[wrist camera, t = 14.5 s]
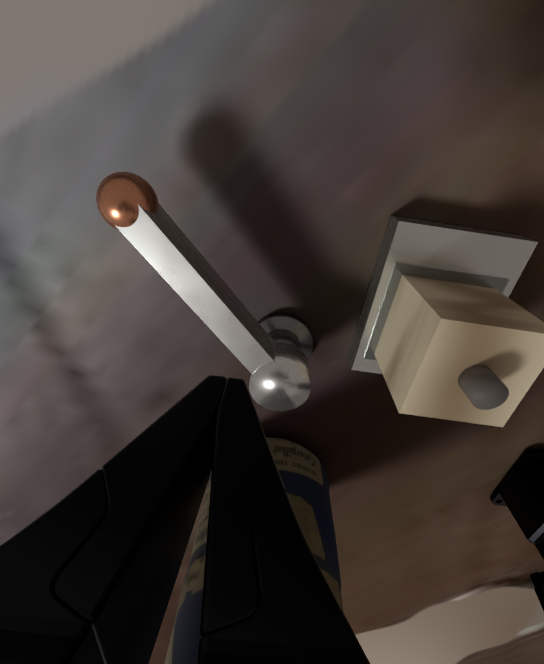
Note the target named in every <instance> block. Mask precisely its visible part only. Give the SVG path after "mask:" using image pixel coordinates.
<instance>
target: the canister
mask: <svg viewBox="0 0 544 664" xmlns="http://www.w3.org/2000/svg"><path fill="white" fill-rule="evenodd" d="M266 439H267V442H268V444H269V447H270V449H271V452H272V455H273V457H274V460H275V463H276V465H277V468H278V471H279V473H280V476H281V478H282V481H283V484H284V486H285V489H286V493H287V494H288V496H289V499H290V502H291V504H292V507H293V510H294V512H295V514H296V517H297V519H298V522H299V524H300V526H301V529H302V531H303V534H304V536H305V538H306V540H307V542H308V544H309V546H310V548H311V551H312V553H313V555H314V557H315V559H316V561H317V563H318V565H319V567H320V569H321V571H322V573H323V575H324V577H325V579H326V580H327V582H328V584H329V586H330V588H331V590H332V592H333V594H334V596H335V598H336V600H337V602H338V603H339V605H340V607H341V609H342V611H343V606H342V597H341V580H340V571H339V563H338V554H337V546H336V538H335V531H334V524H333V517H332V511H331V504H330V496H329V482H328V477H327V473H326V471H325V468H324V467H323V465H322V463H321V462H320V461H319V459H318V458H317V457H316V456H315V455H314V454H313V453H312V452H310V451H309V450H307V449H306V448H304V447H303V446H301V445H299V444H296V443H294V442H292V441H289V440H286V439H280V438H266ZM211 476H212V473H211ZM211 476H210V480H209V484H208V488H207V492H206V497H205V501H204V505H203V509H202V513H201V517H200V521H199V526H198V530H197V534H196V538H195V542H194V546H193V551H192V555H191V559H190V564H189V569H188V572H187V574H186V577H185V580H184V584H183V588H182V592H181V597H180V601H179V605H178V609H177V614H176V618H175V622H174V627H173V631H172V635H171V639H170V643H169V647H168V652H167V656H166V660H165V664H197V663H198V650H199V637H200V623H201V610H202V596H203V583H204V570H205V556H206V543H207V529H208V516H209V503H210V489H211Z"/></svg>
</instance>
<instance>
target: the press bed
mask: <svg viewBox="0 0 544 664" xmlns="http://www.w3.org/2000/svg"><path fill="white" fill-rule="evenodd" d="M537 244H538V242H537V241H534V240H531V239H529V238H526V237H524V236H521V235H517V234H510V233H503V232H497V231H490V230H484V229H477V228H471V227H464V226H457V225H451V224H444V223H438V222H431V221H425V220H418V219H411V218H405V217H398V216H392V215H390V219H389V222H388V225H387V228H386V232H385V235H384V238H383V242H382V245H381V248H380V252H379V255H378V258H377V261H376V265H375V268H374V271H373V275H372V278H371V281H370V284H369V288H368V291H367V294H366V298H365V301H364V304H363V308H362V311H361V314H360V317H359V321H358V324H357V327H356V331H355V334H354V337H353V341H352V344H351V347H350V350H349V354H348V359H349V363H350V366H351V370H356V371H364V372H371V373H378V374H382V371H381V369H380V366H379V364H378V362H377V359H376V357H375V354H374V353H375V350H376V348H377V345H378V342H379V339H380V336H381V333H382V331H383V328H384V325H385V322H386V319H387V317H388V314H389V311H390V308H391V305H392V302H393V300H394V297H395V294H396V291H397V288H398V285H399V283H400V280H401V277H402V275H407V276H414V277H421V278H427V279H434V280H441V281H447V282H454V283H461V284H467V285H474V286H481V287H487V288H494V289H496V290H498V291H499V292H501V293H502V294H504V295H505V296H506V297H509V295H510V294H511V292H512V290H513V288H514V286H515V284H516V282H517V281H518V279H519V277H520V275H521V273H522V271H523V269H524V268H525V266H526V264H527V262H528V260H529V258H530V257H531V255H532V253H533V251H534V249H535V247H536V245H537Z"/></svg>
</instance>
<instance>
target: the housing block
mask: <svg viewBox="0 0 544 664" xmlns="http://www.w3.org/2000/svg"><path fill="white" fill-rule="evenodd" d="M374 354H375V357H376V359H377V362H378V364H379V366H380V369H381V371H382V374H383V376H384V378H385V381H386V383H387V386H388V388H389V390H390V393H391V395H392V398H393V400H394V402H395V405H396V407H397V410H398V412H399V413H401V414H409V415H416V416H423V417H431V418H438V419H445V420H453V421H460V422H468V423H475V424H482V425H490V426H497V427H504V425H505V424H506V422H507V421H508V419H509V418H510V416H511V415H512V413H513V412H514V410H515V409H516V407H517V406H518V404H519V403H520V402H521V400H522V399H523V397H524V396H525V394H526V393H527V391H528V390H529V388H530V387H531V385H532V384H533V382H534V381H535V380H536V378H537V377H538V375H539V374H540V372H541V371H542V369H543V368H544V322H543V321H541V320H540V319H538V318H537V317H535V316H534V315H533V314H531V313H530V312H528V311H527V310H525V309H524V308H522V307H521V306H519V305H518V304H517V303H515V302H514V301H512V300H511V299H509V298H508V297H506V296H505V295H504V294H502V293H501V292H499V291H498V290H496V289H494V288H487V287H481V286H474V285H467V284H461V283H454V282H447V281H441V280H434V279H427V278H421V277H414V276H407V275H402V277H401V280H400V283H399V285H398V288H397V291H396V294H395V297H394V300H393V302H392V305H391V308H390V311H389V314H388V317H387V319H386V322H385V325H384V328H383V331H382V333H381V336H380V339H379V342H378V345H377V348H376V350H375V353H374Z"/></svg>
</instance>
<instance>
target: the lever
mask: <svg viewBox="0 0 544 664" xmlns="http://www.w3.org/2000/svg"><path fill="white" fill-rule="evenodd" d="M96 202H97V207H98V210H99V212H100V214H101V216H102V217H103V218H104V220H105V221H106V222H107V223H108V224H109V225H111V226H112V227H113V228H115V229H117V230H119V231H120V232H121V233H122V234H123V235H124V236H125V237H126V238H127V239H128V240H129V241H130V242H131V244H132V245H133V246H134V247H135V248H136V249H137V250H138V251H139V252H140V253H141V254H142V255H143V257H144V258H145V259H146V260H147V261H148V262H149V263H150V264H151V265H152V266H153V267H154V268H155V270H156V271H157V272H158V273H159V274H160V275H161V276H162V277H163V278H164V279H165V280H166V281H167V283H168V284H169V285H170V286H171V287H172V288H173V289H174V290H175V291H176V292H177V293H178V294H179V296H180V297H181V298H182V299H183V300H184V301H185V302H186V303H187V304H188V305H189V306H190V307H191V309H192V310H193V311H194V312H195V313H196V314H197V315H198V316H199V317H200V318H201V319H202V320H203V322H204V323H205V324H206V325H207V326H208V327H209V328H210V329H211V330H212V331H213V332H214V333H215V335H216V336H217V337H218V338H219V339H220V340H221V341H222V342H223V343H224V344H225V345H226V346H227V348H228V349H229V350H230V351H231V352H232V353H233V354H234V355H235V356H236V357H237V358H238V360H239V361H240V362H241V363H242V364H243V365H244V366H245V367H246V368H247V369H248V370H249V371H250V373H251V377H250V384H249V389H250V393H251V396H252V397H253V399H254V400H255V401H256V402H257V403H258V404H259V405H261V406H262V407H264V408H267V409H270V410H274V411H288V410H292V409H295V408H297V407H299V406H300V405H302V404H303V403H304V402H305V401H306V400H307V398H308V396H309V394H310V390H311V384H310V374H309V364H308V359H307V357H306V355H305V353H304V352H303V351H302V350H301V349H300V348H299V347H297V346H295V345H293V344H290V343H286V342H274V341H273V339H272V338H271V337H270V336H269V335H268V333H267V332H266V331H265V330H264V329H263V327H262V326H261V325H260V324H259V323H258V321H257V320H256V319H255V318H254V317H253V315H252V314H251V313H250V312H249V311H248V309H247V308H246V307H245V306H244V305H243V303H242V302H241V301H240V300H239V299H238V298H237V296H236V295H235V294H234V293H233V292H232V290H231V289H230V288H229V287H228V286H227V284H226V283H225V282H224V281H223V280H222V278H221V277H220V276H219V275H218V274H217V272H216V271H215V270H214V269H213V268H212V266H211V265H210V264H209V263H208V262H207V260H206V259H205V258H204V257H203V256H202V254H201V253H200V252H199V251H198V250H197V249H196V247H195V246H194V245H193V244H192V243H191V241H190V240H189V239H188V238H187V237H186V235H185V234H184V233H183V232H182V231H181V229H180V228H179V227H178V226H177V225H176V223H175V222H174V221H173V220H172V219H171V217H170V216H169V215H168V214H167V213H166V211H165V210H164V209H163V208H162V207H161V205H160V204H159V203H158V199H157V196H156V193H155V191H154V190H153V188H152V187H151V185H150V184H149V183H148V182H147V181H146V180H144V179H143V178H142V177H140V176H138V175H136V174H133V173H129V172H116V173H113V174H111V175H109V176H107V177H106V178H105V179H104V180H103V181H102V182H101V183H100V185H99V187H98V190H97V195H96Z"/></svg>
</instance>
